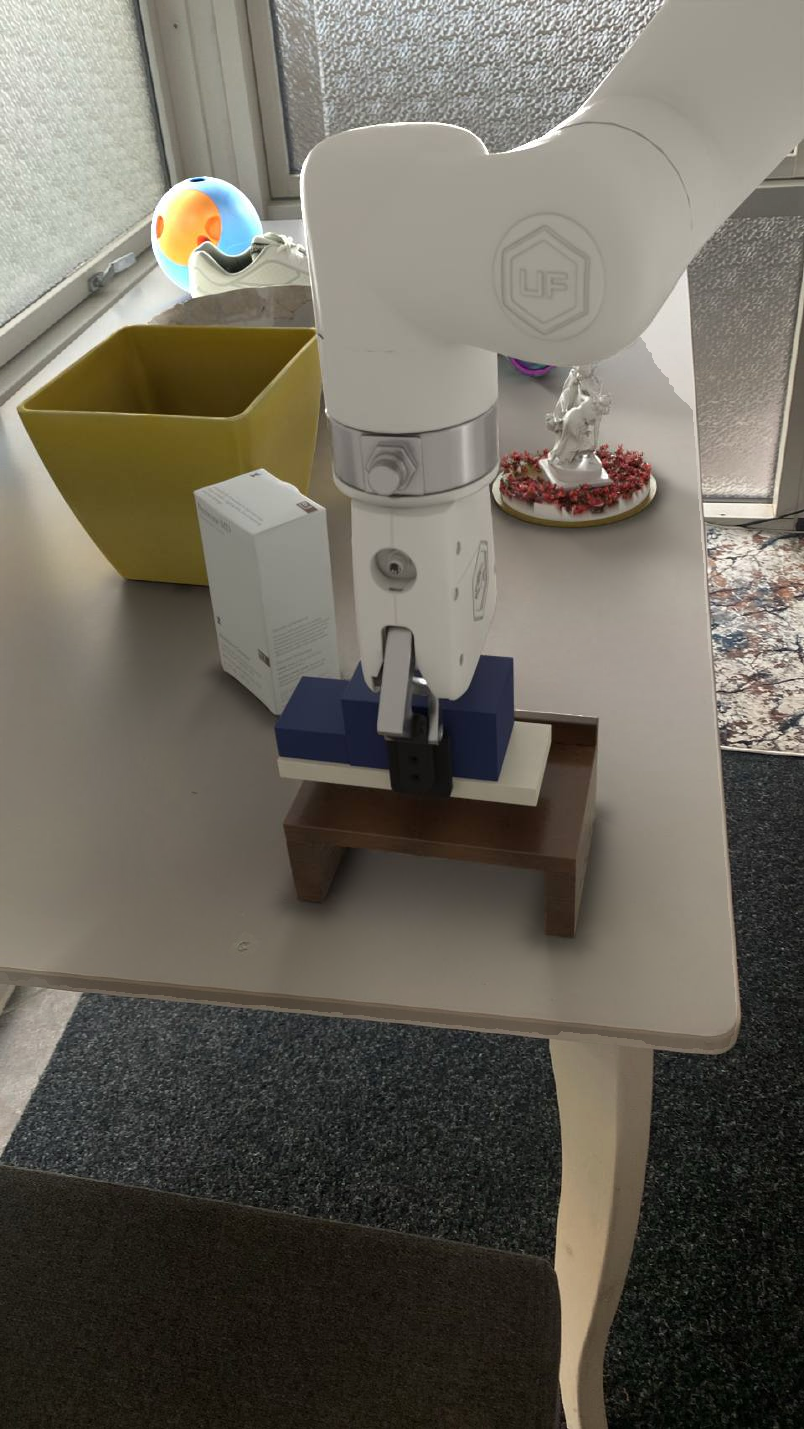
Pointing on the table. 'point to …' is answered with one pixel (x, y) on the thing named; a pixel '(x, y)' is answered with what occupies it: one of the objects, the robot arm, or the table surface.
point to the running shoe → (248, 266)
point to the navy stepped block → (483, 734)
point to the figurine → (575, 467)
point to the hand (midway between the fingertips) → (435, 752)
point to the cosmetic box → (269, 584)
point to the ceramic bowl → (245, 309)
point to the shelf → (463, 824)
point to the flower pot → (173, 433)
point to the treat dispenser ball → (201, 224)
